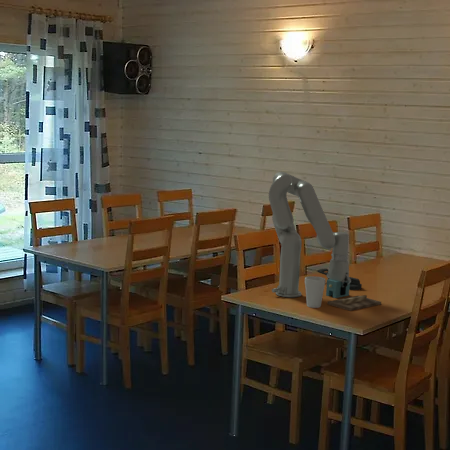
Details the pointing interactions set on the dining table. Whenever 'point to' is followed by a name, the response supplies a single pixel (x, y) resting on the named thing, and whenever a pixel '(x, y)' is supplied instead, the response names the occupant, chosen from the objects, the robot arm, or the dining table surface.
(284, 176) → the robot arm
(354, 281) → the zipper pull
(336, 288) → the cabinet
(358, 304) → the board
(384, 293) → the dining table surface
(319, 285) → the foam cup
